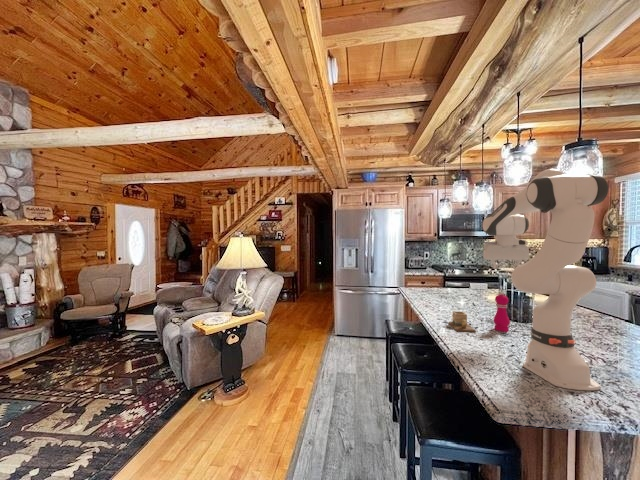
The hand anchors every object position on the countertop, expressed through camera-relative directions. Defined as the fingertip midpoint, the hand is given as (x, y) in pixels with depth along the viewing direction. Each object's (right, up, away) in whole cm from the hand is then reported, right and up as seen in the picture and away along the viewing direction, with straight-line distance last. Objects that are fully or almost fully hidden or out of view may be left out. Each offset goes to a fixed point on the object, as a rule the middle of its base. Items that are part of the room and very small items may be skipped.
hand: (505, 268), depth 144 cm
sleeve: (-17, -32, +14) cm, 38 cm away
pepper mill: (+2, -33, +6) cm, 34 cm away
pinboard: (-17, -33, +10) cm, 38 cm away
